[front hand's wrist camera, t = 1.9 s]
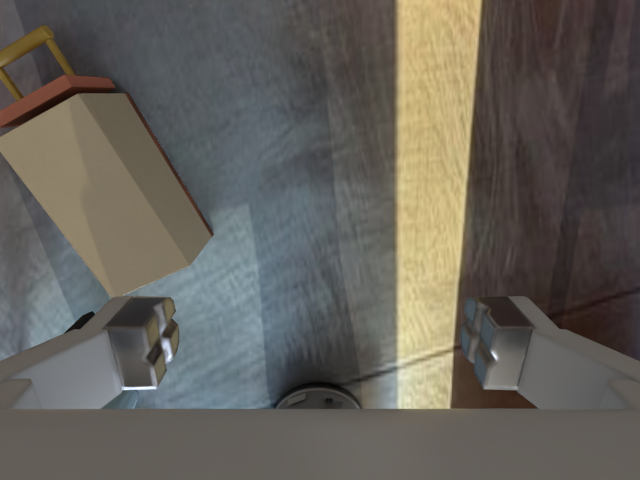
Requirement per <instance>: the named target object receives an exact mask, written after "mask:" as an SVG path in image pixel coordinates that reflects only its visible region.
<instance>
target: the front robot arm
mask: <svg viewBox="0 0 640 480" xmlns="http://www.w3.org/2000/svg"><path fill="white" fill-rule="evenodd" d="M175 312H176V309H175V305H174V301H173V299H172V298H171V297H134V296H118V297H113V298H112V299H111V300H110V301H108V302H107V303H106V304H105V305H104V306H103V307H102V308H101V309H100V310H99V311H98V312H97V313H96V314H95V315H94V316H93V317H92V318H91V319H90V320H89V321H88V322H87V323H86V324H85V325H84V326H83V327H82V328H81V329H74V330H72V331H69V332H67V333H65V334H62V335H60V336H58V337H55V338H53V339H51V340H48V341H46V342H44V343H41V344H39V345H37V346H35V347H32V348H30V349H28V350H25V351H23V352H21V353H18V354H16V355H14V356H11V357H9V358H7V359H4V360H2V361H0V480H640V361H638V360H635V359H633V358H631V357H628V356H626V355H624V354H622V353H619V352H617V351H615V350H612V349H610V348H608V347H605V346H603V345H601V344H598V343H596V342H594V341H592V340H589V339H587V338H585V337H582V336H580V335H578V334H575V333H573V332H571V331H568V330H566V329H559V328H558V327H557V326H556V325H555V324H554V323H553V322H552V321H551V320H550V319H549V318H548V317H547V316H546V315H545V314H544V313H543V312H542V311H541V310H540V309H539V308H538V307H537V306H536V305H535V304H534V303H533V302H532V301H531V300H530V299H529V298H527V297H524V296H512V297H472V298H468V299H467V301H466V304H465V309H464V312H465V313H466V315H467V316H468V319H467V320H466V321H465V322H464V323H463V324H462V327H461V335H460V336H461V346H462V349H463V353H464V354H465V356H466V358H467V359H468V360H469V361H471V362H472V363H474V369H473V371H474V373H475V375H476V377H477V378H478V380H479V382H480V384H481V385H482V387H483V389H497V390H517V392H518V393H520V394H521V395H522V396H524V397H525V398H526V399H527V400H529V401H530V402H531V403H533V404H534V405H535V406H537V407H538V408H539V409H101V408H102V407H104V406H105V405H106V404H107V403H109V402H110V401H111V400H113V399H114V398H115V397H117V396H118V395H119V394H120V393H122V392H123V390H142V389H157V387H158V386H159V384H160V382H161V380H162V378H163V377H164V375H165V373H166V371H167V369H166V363H168V362H169V361H171V360H172V359H173V358H174V356H175V354H176V352H177V349H178V345H179V327H178V324H177V323H176V322H175V321H174V320H173V319H172V316H173V315H174V313H175Z"/></svg>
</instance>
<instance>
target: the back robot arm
mask: <svg viewBox="0 0 640 480" xmlns="http://www.w3.org/2000/svg"><path fill="white" fill-rule="evenodd" d="M94 315H95V314H94V313H93V311H92V312H89V313H87V314H85V315H83V316H82V317H81V318H80V319H79V320H77V321H76V322H75V323H74V324H73V325H72V326H71V327H70V328H69V329H68V330H67V331H66V332H65V333H67V332H69V331H72V330H74V329H81V328H82V327H83V326H84V325H85V324H86V323H87V322H88V321H89V320H90V319H91V318H92V317H93V316H94ZM65 333H64V334H65ZM274 409H362V408H361V406H360V404H359V402H358V401H357V399H356V398H355V397H354V396H353V395H352V394H350V393H349V392H348V391H346V390H344V389H342V388H340V387H337V386H334V385H330V384H324V383H312V384H305V385H302V386H298V387H296V388H294V389H292V390H290V391H288V392H287V393H286V394H284V395H283V396H282V397H281V398H280V399H279V401H278V402H277V404H276V406H275V408H274Z"/></svg>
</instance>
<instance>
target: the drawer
mask: <svg viewBox="0 0 640 480" xmlns="http://www.w3.org/2000/svg"><path fill="white" fill-rule="evenodd" d="M52 38H54V34H53V32H52V31H51V30H50V29H49V28H48V27H47V26H46V25H42V26H40V27H39V28H37V29H35V30H34V31H32V32H30V33H29V34H27V35H25V36H24V37H22V38H20V39H19V40H17V41H15V42H14V43H12V44H10V45H9V46H7V47H5V48H4V49H2V50H0V78H1V80H2V81H3V83H4V84H5V85H6V87H7V88H8V90H9V91H10V92H11V94H12V95H13V97H14V98H15V99H16V101H17V102H15V103H13V104H11V105H10V106H8V107H6V108H4V109H3V110H1V111H0V128H6V127H15V126H20V125H22V124H24V123H25V122H27V121H29V120H31V119H33V118H34V117H36V116H38V115H40V114H42V113H43V112H45V111H47V110H49V109H51V108H52V107H54V106H56V105H58V104H60V103H61V102H63V101H65V100H67V99H68V98H70V97H72V96H74V95H76V94H82V93H107V92H109V91H111V90H113V89H114V88H115V86H114V84H113V83H112V81H111V79H110V78H105V77H91V76H76V74H75V73H74V71H73V70H72V68H71V67H70V65H69V64H68V62H67V60H66V59H65V57H64V56H63V54H62V53H61V51H60V50H59V48H58V46H57V45H56V43H55V42H54V40H53V39H52ZM45 42H46V44H47V45H48V47H49V49H50V50H51V52H52V53H53V55H54V56H55V58H56V59H57V61H58V62H59V64H60V65H61V67H62V69H63V70H64V72H65V73H66V75H62V76H61V77H59V78H57V79H55V80H54V81H52V82H50V83H48V84H47V85H45V86H43V87H41V88H40V89H38V90H36V91H34V92H32V93H31V94H29V95H27V96H25V97H23V95H22V94H21V93H20V91H19V90H18V88H17V87H16V85H15V84H14V83H13V81H12V80H11V78H10V77H9V75H8V74H7V73H6V71H5V70H4V69H3V67H5V66H6V65H8V64H10V63H12V62H13V61H15V60H17V59H18V58H20V57H22V56H23V55H25V54H27V53H28V52H30V51H32V50H33V49H35V48H37V47H39V46H40V45H42V44H44V43H45Z"/></svg>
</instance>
